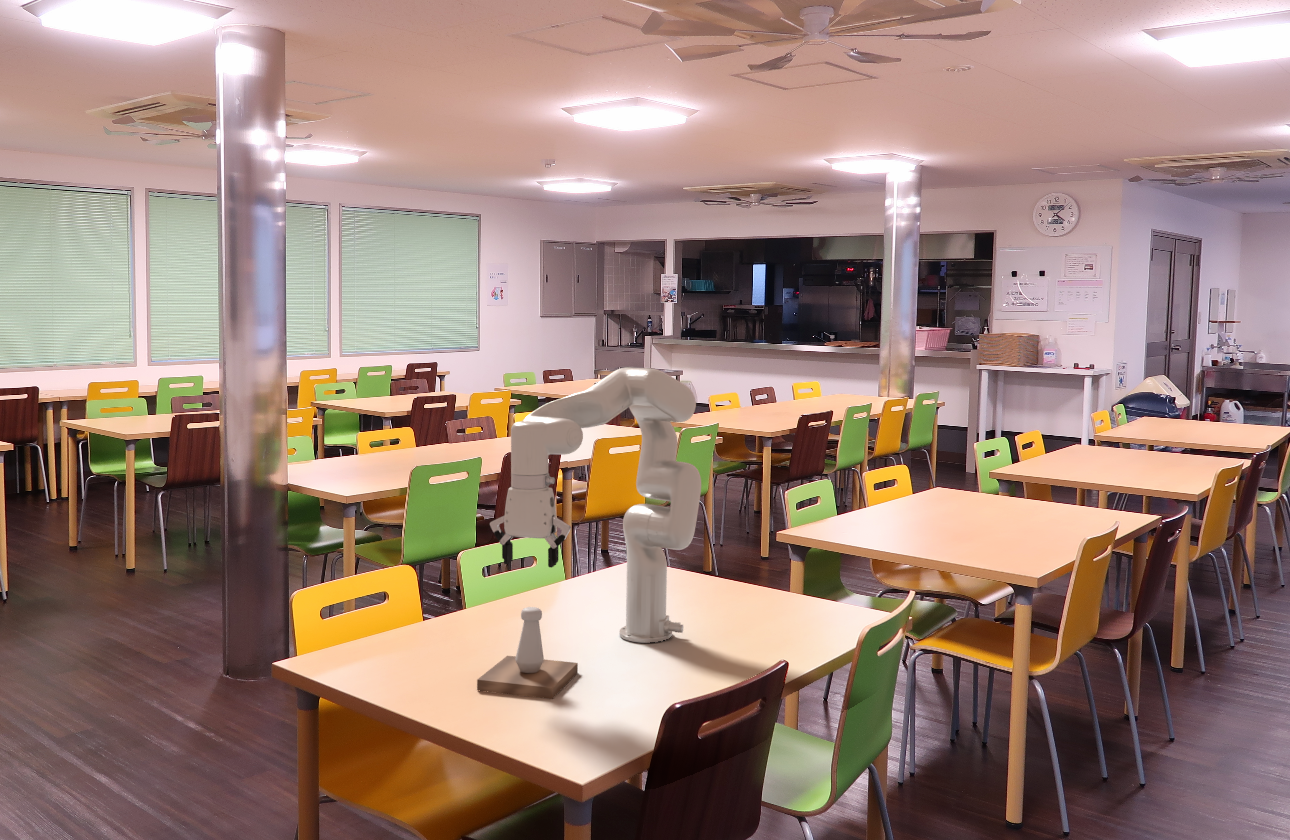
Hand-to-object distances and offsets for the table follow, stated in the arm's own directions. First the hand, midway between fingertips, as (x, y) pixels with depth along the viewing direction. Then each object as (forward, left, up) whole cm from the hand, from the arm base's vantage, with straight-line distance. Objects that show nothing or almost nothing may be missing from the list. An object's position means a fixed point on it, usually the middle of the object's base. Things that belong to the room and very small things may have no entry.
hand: (530, 564), depth 213 cm
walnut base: (0, 0, -25) cm, 25 cm away
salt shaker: (0, 0, -23) cm, 23 cm away
